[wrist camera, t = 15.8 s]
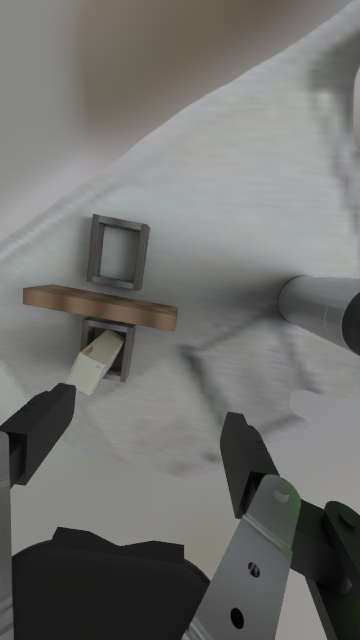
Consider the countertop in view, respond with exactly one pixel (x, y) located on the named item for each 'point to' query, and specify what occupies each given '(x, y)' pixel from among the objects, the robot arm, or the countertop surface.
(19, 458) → the robot arm
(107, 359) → the skincare box
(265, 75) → the countertop surface
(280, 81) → the countertop surface
